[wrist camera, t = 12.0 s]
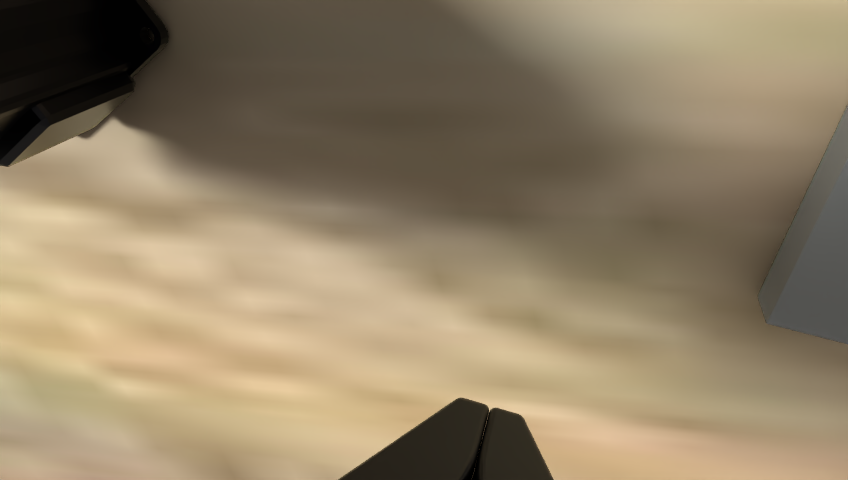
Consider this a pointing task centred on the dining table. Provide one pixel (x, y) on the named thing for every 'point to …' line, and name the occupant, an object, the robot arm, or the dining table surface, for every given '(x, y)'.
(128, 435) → the dining table surface
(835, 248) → the fader console
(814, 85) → the dining table surface
